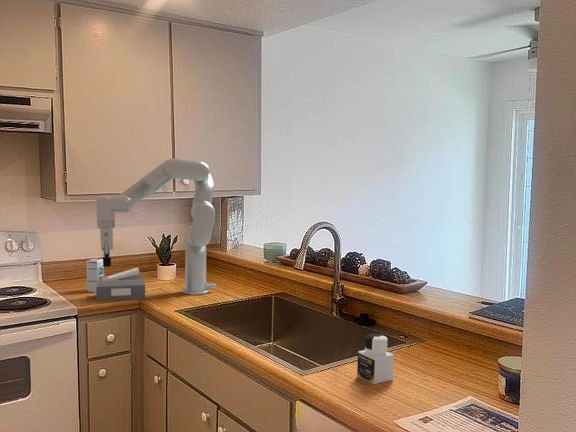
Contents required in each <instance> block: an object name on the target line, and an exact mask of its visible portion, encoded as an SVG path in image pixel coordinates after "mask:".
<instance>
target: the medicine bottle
mask: <svg viewBox="0 0 576 432" xmlns="http://www.w3.org/2000/svg"><path fill="white" fill-rule="evenodd" d="M394 358H395V355H394V354H393V353H390V352H388V338H387V336H386V335H383V334H381V333H370V334H367V335H365V337H364V349H363V350H359V351H357V367H356V368H357V370H356V371H357V372H356V375H357V377H358V378H360V379H362V380H364V381H366V382H367V383H370V384H371V385H378V384H382V383H385V382H386V383H387V382H389V381H393V380H394V364H395V363H394V362H395V361H394V360H395V359H394Z"/></svg>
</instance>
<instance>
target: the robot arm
mask: <svg viewBox="0 0 576 432" xmlns="http://www.w3.org/2000/svg"><path fill="white" fill-rule="evenodd" d="M210 172H211V171H210V167H209V165H208V164H207V163H205V162H204V161H200V160H199V161H197V160H189V159H180V158H168V159H166V160H164V161H163V162H161V163H160V164H159V165H158V166H157V167H155V168H154V169H152V170H151V171H150V172H149V173H147V174H146V175H144V176H143V177H141V178H140V179H139V180H138V181H137V182H135V183H133V185H131V186H130V187H128V188H127V189H125V190H124V191H123V192H121V193H120V194H118V195H117V196H112V195H99V196H97V197H96V200H95V201H96V205H95V206H96V228H97V229H99V237H100V238H99V240H100V248H101V252H102V253H103V254H102V255H103V257H102V259H103V267H104V268H105V267H106V268H108V267H110V268H111V266H112V257H111V252H113V251H114V229H116V213H122V214H126V213H129V212H131V211H132V210H133V208H134V205H136V204H137V203H138V202H140V201H141V200H143V199H144V198H147V197H148V196H151V195H153V194H155V193H157V192H158V191H159V190H161V189H162V188H163V187H165V186H166V185H167V184H169V183H170V182H171V181H173V180H174V179H180V180H189V181H191V180H192V181H193V183H194V188H195V189H194V194H193V198H192V199H193V200H192V204H191V208H190V215H191V218H192V223H191V224H190V225H189V226H188V227H186V229H185V231H184V247H185V248H184V249H185V252H184V253H185V258H184V259H185V260H184V261H185V262H184V264H185V265H184V266H185V269H184V270H185V271H184V272H185V273H184V274H185V275H184V276H185V277H184V278H185V279H184V280H185V282H184V288H182V289H181V293H182V294H184V295H194V296H196V295H197V296H199V295H205V294H208V293H210V289H215V288H217V284H216V283H211V282H209V283H208V282H207V245H208V244H209V243H210V241H211V239H212V234H213V230H214V229H213V228H214V224H215V218H216V210H215V207H214V206H213V199H214V190H215V186H214V185H215V184H214V180H213V176H212V175H211V173H210Z"/></svg>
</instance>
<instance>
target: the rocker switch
mask: <svg viewBox="0 0 576 432" xmlns="http://www.w3.org/2000/svg"><path fill="white" fill-rule="evenodd" d="M139 274H140V270H139V267H134V268H131V269H128V270H125V271H121V272H117V273H114V274H111V275H106V276H107V277H103V278H102V279H101V281H109V280H118V279H121V278H125V277H128V276H131V275H139Z"/></svg>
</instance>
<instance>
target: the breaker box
mask: <svg viewBox="0 0 576 432" xmlns="http://www.w3.org/2000/svg"><path fill="white" fill-rule="evenodd" d="M107 276H108V275H104V276H98V282H97V286H96V292H95V293H96V294H95V295H96V296H95V297H96V302H103V301H104V302H105V301H125V300H127V301H128V300H129V301H130V300H145V299H146V284H145V279H144V274H135V275H131V276H128V277H125V278H121V279H118V280H109V281H101V279H102V278H103V277H107Z"/></svg>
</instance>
